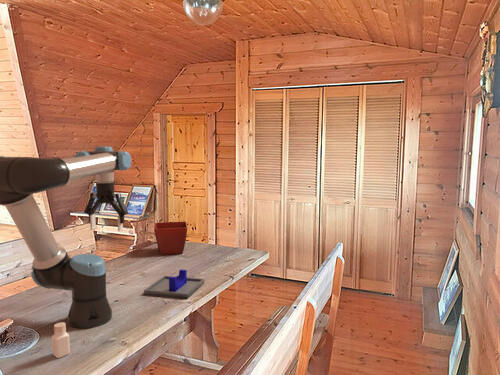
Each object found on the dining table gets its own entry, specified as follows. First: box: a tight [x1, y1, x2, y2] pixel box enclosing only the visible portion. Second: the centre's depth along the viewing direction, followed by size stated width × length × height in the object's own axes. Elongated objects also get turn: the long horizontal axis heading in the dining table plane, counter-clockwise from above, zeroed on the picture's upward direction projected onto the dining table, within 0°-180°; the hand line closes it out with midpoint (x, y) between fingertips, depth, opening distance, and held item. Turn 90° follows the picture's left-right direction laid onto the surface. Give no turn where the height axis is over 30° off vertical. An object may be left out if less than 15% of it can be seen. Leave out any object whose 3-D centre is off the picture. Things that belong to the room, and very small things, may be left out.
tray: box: [143, 275, 205, 300], centre depth 177 cm, size 20×20×2 cm
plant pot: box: [153, 221, 188, 256], centre depth 240 cm, size 19×19×17 cm
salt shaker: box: [51, 322, 71, 359], centre depth 120 cm, size 4×4×10 cm
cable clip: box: [169, 269, 188, 292], centre depth 177 cm, size 12×4×6 cm, turn 165°
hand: (106, 230), depth 175 cm, fingers open, 13 cm apart
